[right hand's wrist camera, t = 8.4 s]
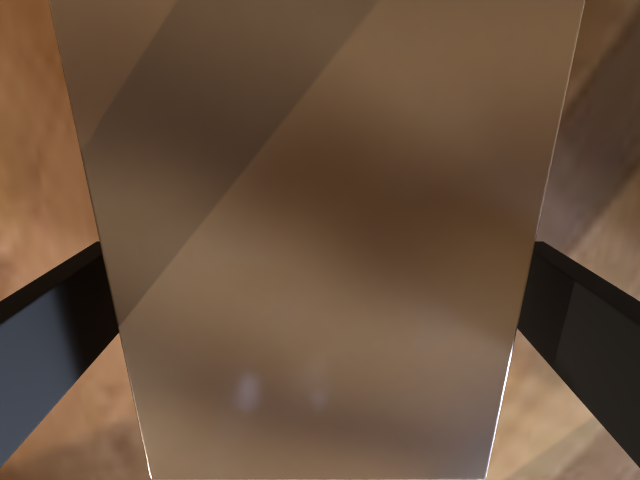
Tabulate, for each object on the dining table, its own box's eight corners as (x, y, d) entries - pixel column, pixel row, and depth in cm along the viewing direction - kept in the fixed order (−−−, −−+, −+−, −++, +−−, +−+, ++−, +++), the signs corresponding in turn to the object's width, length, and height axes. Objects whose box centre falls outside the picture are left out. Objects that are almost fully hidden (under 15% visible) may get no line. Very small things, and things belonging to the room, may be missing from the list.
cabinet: (182, -148, 13) (-97, -667, 4) (453, -149, 13) (726, -663, 4) (226, 310, 20) (149, 480, 11) (410, 310, 20) (486, 480, 11)
